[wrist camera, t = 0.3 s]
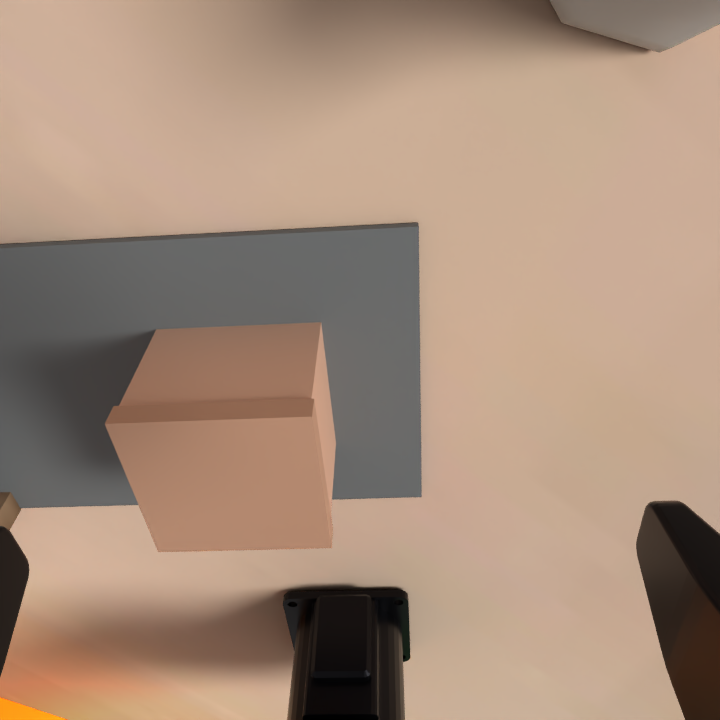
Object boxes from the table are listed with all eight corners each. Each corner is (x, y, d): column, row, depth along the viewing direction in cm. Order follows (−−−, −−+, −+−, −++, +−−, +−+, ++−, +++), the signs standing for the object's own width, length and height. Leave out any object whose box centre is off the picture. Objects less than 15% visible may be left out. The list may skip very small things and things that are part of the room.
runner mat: (421, 491, 28) (421, 497, 28) (-254, 510, 30) (-259, 515, 30) (417, 222, 21) (418, 226, 20) (-493, 270, 22) (-502, 274, 22)
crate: (338, 444, 26) (331, 548, 22) (191, 449, 27) (158, 551, 23) (323, 319, 23) (311, 416, 18) (153, 327, 23) (104, 423, 19)
